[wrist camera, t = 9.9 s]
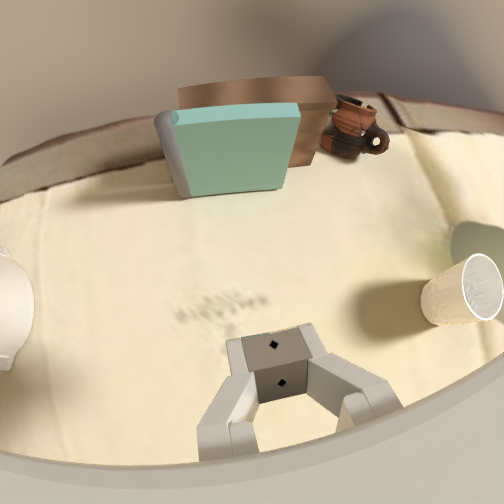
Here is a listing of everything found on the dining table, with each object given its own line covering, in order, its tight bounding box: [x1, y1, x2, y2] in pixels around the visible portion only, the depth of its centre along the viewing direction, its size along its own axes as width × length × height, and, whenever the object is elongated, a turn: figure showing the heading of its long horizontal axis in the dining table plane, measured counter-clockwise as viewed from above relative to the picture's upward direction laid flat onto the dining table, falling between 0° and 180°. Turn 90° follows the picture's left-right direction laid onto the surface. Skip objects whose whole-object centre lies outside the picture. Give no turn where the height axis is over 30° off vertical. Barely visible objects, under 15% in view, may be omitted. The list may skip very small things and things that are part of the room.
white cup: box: [421, 254, 503, 326], centre depth 32 cm, size 8×8×10 cm
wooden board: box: [178, 76, 338, 168], centre depth 35 cm, size 17×5×13 cm, turn 101°
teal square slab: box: [154, 103, 301, 199], centre depth 33 cm, size 14×2×14 cm, turn 97°
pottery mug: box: [321, 94, 390, 159], centre depth 42 cm, size 12×10×8 cm
